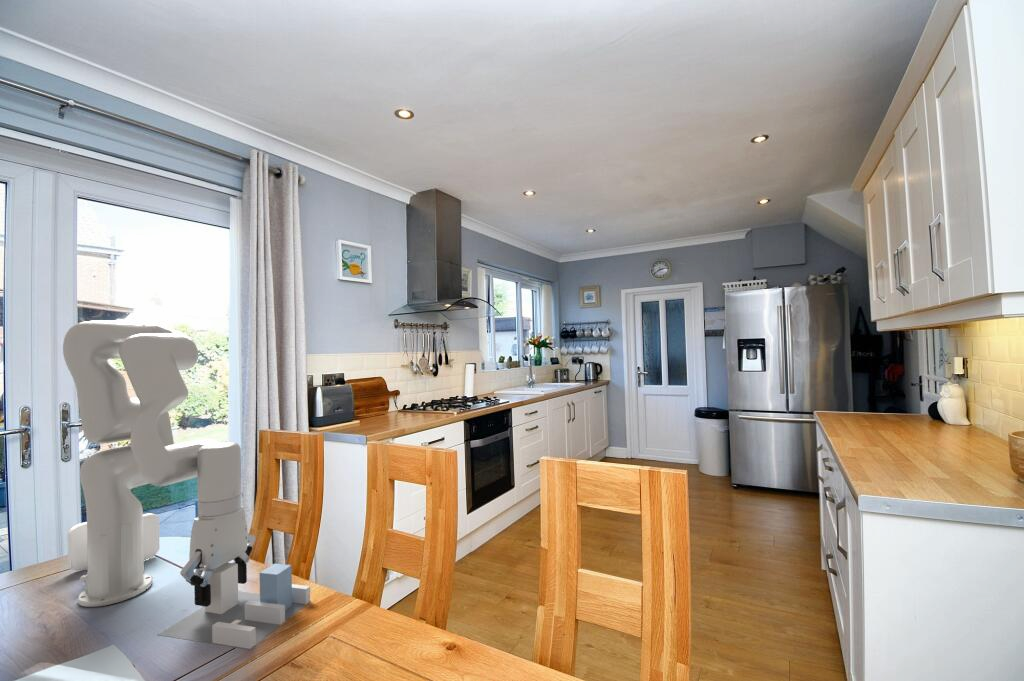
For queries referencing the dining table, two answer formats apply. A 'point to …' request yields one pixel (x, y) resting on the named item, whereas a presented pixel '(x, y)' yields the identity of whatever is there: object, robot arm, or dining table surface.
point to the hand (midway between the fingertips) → (221, 593)
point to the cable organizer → (79, 542)
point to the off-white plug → (223, 588)
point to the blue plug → (276, 585)
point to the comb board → (239, 621)
